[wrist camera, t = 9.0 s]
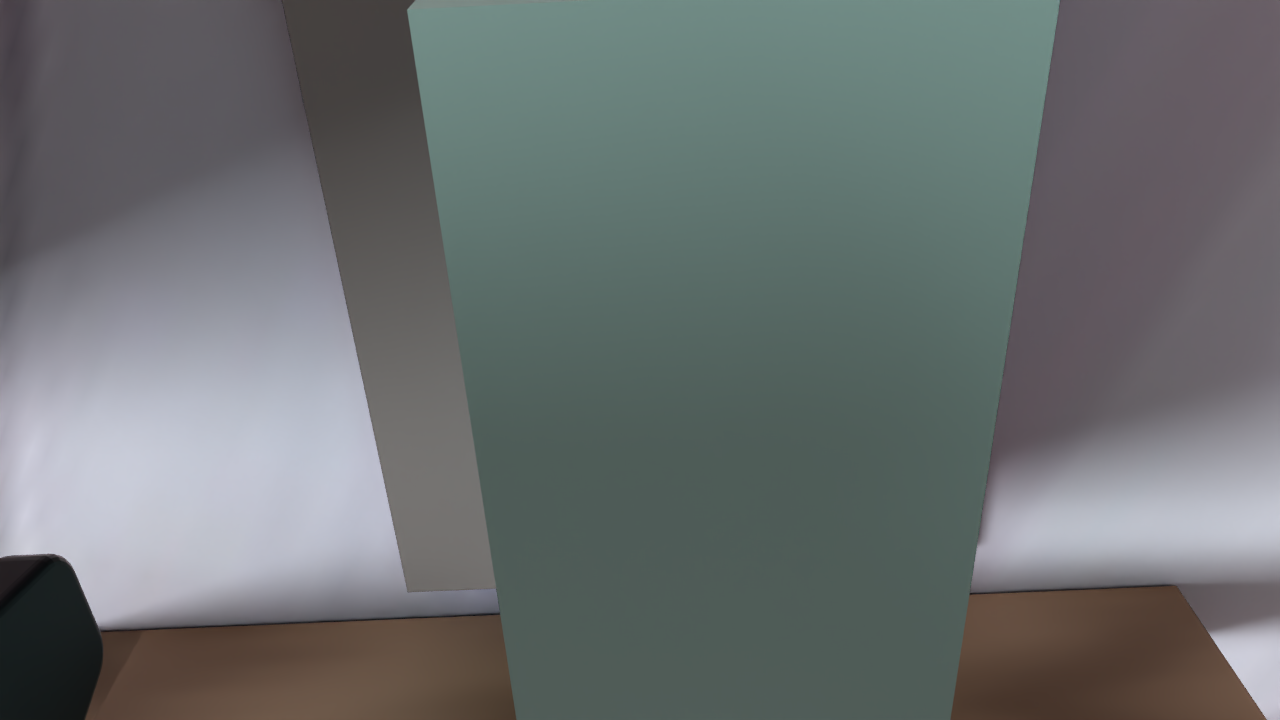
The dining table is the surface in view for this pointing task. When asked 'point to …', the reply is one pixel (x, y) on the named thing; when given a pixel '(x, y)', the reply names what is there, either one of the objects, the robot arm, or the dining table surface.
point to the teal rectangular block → (733, 335)
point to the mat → (394, 279)
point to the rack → (483, 701)
